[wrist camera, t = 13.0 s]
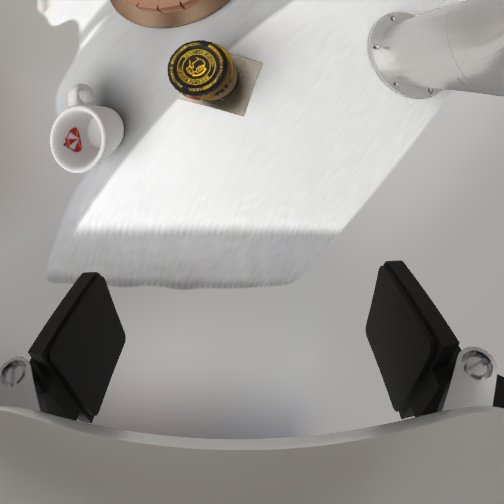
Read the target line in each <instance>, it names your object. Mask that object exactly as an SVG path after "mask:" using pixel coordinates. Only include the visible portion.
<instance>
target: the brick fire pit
mask: <svg viewBox="0 0 504 504" xmlns="http://www.w3.org/2000/svg"><path fill="white" fill-rule="evenodd" d="M229 1H230V0H111V3H112V5H113V6H114V8H115V9H116V11H117V12H118V13H119V14H120V15H122V16H123V17H124V18H126V19H128V20H129V21H131V22H133V23H135V24H138V25H141V26H145V27H150V28H172V27H179V26H183V25H187V24H190V23H194V22H196V21H199V20H201V19H204V18H206V17H207V16H209V15H211V14H213V13H215V12H216V11H218V10H219V9H221V8H222V7H223V6H224V5H226V4H227V3H228V2H229Z"/></svg>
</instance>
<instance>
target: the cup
mask: <svg viewBox="0 0 504 504" xmlns="http://www.w3.org/2000/svg"><path fill="white" fill-rule="evenodd" d="M79 92H81V93H82V94H83V96H84V103H83V102H82V101H81V99H80V97H79ZM68 102H69V108H67V109H66V110H64V111H63V112H62V113H61V114H60V115H59V116H58V117H57V119H56V120H55V122H54V124H53V127H52V130H51V135H50V145H51V150H52V153H53V156H54V158H55V160H56V161H57V163H58V164H59V165H60V166H61V167H62V168H64V169H65V170H67V171H70V172H73V173H82V172H86V171H88V170H90V169H92V168H93V167H95V166H96V165H97V164H98V163H100V162H101V161H102V160H103V159H105V158H106V157H107V156H108V155H110V154H111V153H112V152H113V151H114V150H116V148H117V147H118V146H119V144H120V143H121V141H122V138H123V134H124V125H123V121H122V119H121V117H120V116H119V114H118V113H117V112H116V111H114V110H113V109H111V108H108V107H103V106H97V105H96V104H95V101H94V96H93V92H92V90H91V88H90V87H89V86H88V85H86V84H77V85H75V86H73V87H72V88H71V89H70V90H69V93H68Z"/></svg>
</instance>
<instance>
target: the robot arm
mask: <svg viewBox="0 0 504 504" xmlns="http://www.w3.org/2000/svg"><path fill="white" fill-rule="evenodd" d="M391 19H392V20H391ZM373 46H374V47H375V49H374V47H373ZM368 50H369V56H370V59H371V62H372V65H373V67H374V69H375V71H376V72H377V74H378V75H379V77H380V78H381V79H382V81H383V82H384V83H385V84H386V85H387V86H388V87H389V88H391V89H392V90H394V91H395V92H396V93H399V94H401V95H403V96H406V97H409V98H416V99H424V98H428V97H431V96H433V95H435V94H437V93H438V92H439V91H440V90H441V89H447V90H459V91H467V92H476V93H483V94H490V95H497V96H504V0H466V1H462V2H459V3H455V4H451V5H448V6H445V7H441V8H438V9H435V10H432V11H429V12H426V13H423V14H420V15H418V16H415V15H412V14H409V13H404V12H395V13H391V14H388V15H386V16H384V17H382V18H381V19H379V20H378V21H377V22H376V23H375V24H374V26H373V27H372V29H371V32H370V34H369V39H368ZM394 83H395V86H394ZM366 335H367V338H368V341H369V343H370V346H371V348H372V351H373V353H374V356H375V359H376V361H377V364H378V366H379V369H380V372H381V375H382V377H383V380H384V383H385V386H386V388H387V391H388V394H389V397H390V400H391V402H392V405H393V408H394V410H395V411H396V412H397V411H399V413H400V416H401V419H404V418H408V417H412V416H415V418H411V419H407V420H403V421H398V422H394V423H389V424H384V425H379V426H373V427H368V428H363V429H357V430H351V431H345V432H338V433H330V434H322V435H313V436H304V437H291V438H275V439H242V440H241V439H238V440H237V439H236V440H235V439H234V440H233V439H232V440H231V439H229V440H228V439H199V438H184V437H172V436H163V435H162V436H161V435H154V434H145V433H138V432H131V431H125V430H119V429H113V428H108V427H103V426H97V425H93V424H88V423H92V421H93V418H94V416H96V415H97V414H98V412H99V410H100V407H101V404H102V401H103V398H104V396H105V393H106V390H107V387H108V385H109V382H110V379H111V377H112V374H113V371H114V369H115V366H116V364H117V361H118V359H119V356H120V354H121V351H122V348H123V346H124V343H125V332H124V330H123V327H122V325H121V322H120V320H119V317H118V315H117V312H116V309H115V307H114V304H113V301H112V298H111V295H110V293H109V290H108V287H107V284H106V281H105V279H104V277H102V276H101V275H100V274H99V273H97V272H88V273H82V274H81V276H80V277H79V278H78V280H77V281H76V282H75V284H74V285H73V287H72V288H71V289H70V290H69V292H68V293H67V295H66V296H65V297H64V299H63V300H62V301H61V303H60V305H59V306H58V307H57V309H56V310H55V311H54V313H53V314H52V316H51V317H50V319H49V320H48V322H47V323H46V325H45V326H44V328H43V329H42V331H41V332H40V334H39V335H38V337H37V338H36V340H35V342H34V343H33V345H32V347H31V348H30V350H29V351H28V353H29V355H30V356H31V360H30V362H29V361H28V360H27V359H26V358H24V357H14V358H11V359H10V360H8V361H7V362H6V363H4V364H3V366H2V367H1V368H0V504H504V377H502V376H500V375H497V365H496V362H495V360H494V359H493V357H492V356H491V355H490V354H489V353H488V352H487V351H485V350H483V349H481V348H478V347H467V348H464V349H463V350H461V349H460V347H459V346H458V345H459V341H458V340H457V338H456V336H455V335H454V333H453V332H452V330H451V329H450V327H449V326H448V325H447V323H446V321H445V320H444V318H443V317H442V315H441V314H440V312H439V311H438V309H437V308H436V306H435V305H434V304H433V302H432V301H431V299H430V298H429V296H428V295H427V293H426V292H425V291H424V289H423V288H422V287H421V285H420V284H419V282H418V281H417V280H416V278H415V277H414V276H413V274H412V273H411V272H410V270H409V269H408V268H407V266H406V265H405V264H404V262H403V261H386V262H385V263H384V266H381V267H380V268H379V272H378V277H377V281H376V287H375V291H374V295H373V299H372V304H371V308H370V312H369V316H368V320H367V324H366ZM77 419H78V420H80V421H84V422H88V423H84V422H79V421H76V420H77Z"/></svg>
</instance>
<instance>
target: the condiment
mask: <svg viewBox="0 0 504 504" xmlns="http://www.w3.org/2000/svg"><path fill="white" fill-rule="evenodd" d="M261 65H262V63H260V62H257V61H254V60H250V59H247V58H243V57H240V56H236V55H233V54H229V53H228V52H227V51H226V50H225V49H224V48H223V47H221V46H219V45H217V44H215V43H212V42H206V41H192V42H189V43H186V44H184V45H182V46H181V47H179V48H178V49H177V50H176V51H175V52H174V54H173V55H172V56H171V58H170V61H169V63H168V76H169V80H170V82H171V84H172V85H173V86H174V87H175V89H176V90H178V91H179V92H180V94H179V97H178V99H181V100H185V101H189V102H193V103H197V104H201V105H205V106H209V107H213V108H216V109H220V110H223V111H227V112H230V113H234V114H237V115H240V116H244V113H245V110H246V107H247V104H248V101H249V99H250V96H251V93H252V90H253V87H254V85H255V82H256V79H257V76H258V74H259V71H260V68H261ZM238 70H239V72H238ZM240 73H241V74H242V75H240ZM222 99H223V100H222Z"/></svg>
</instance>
